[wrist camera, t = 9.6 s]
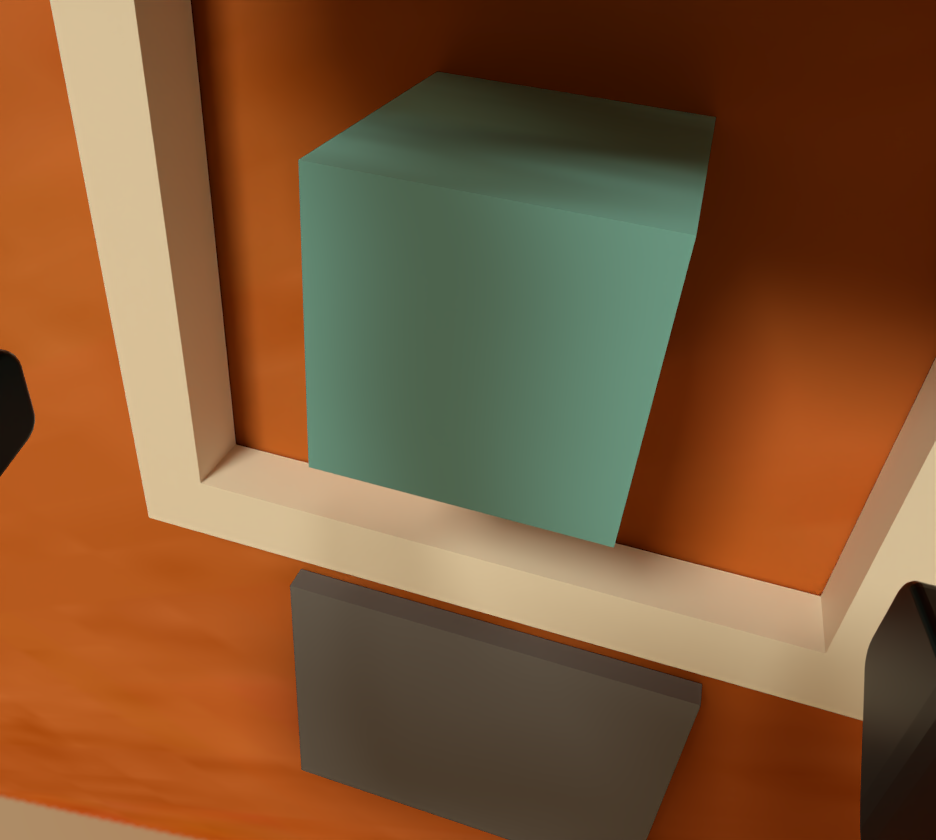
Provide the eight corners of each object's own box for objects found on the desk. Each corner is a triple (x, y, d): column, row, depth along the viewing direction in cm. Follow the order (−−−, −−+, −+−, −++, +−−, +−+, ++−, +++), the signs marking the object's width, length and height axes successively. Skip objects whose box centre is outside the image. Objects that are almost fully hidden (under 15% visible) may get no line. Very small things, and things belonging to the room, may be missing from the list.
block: (716, 116, 12) (696, 235, 8) (652, 365, 15) (613, 547, 11) (438, 71, 13) (298, 160, 9) (423, 314, 16) (308, 467, 12)
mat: (702, 684, 19) (700, 705, 18) (632, 859, 23) (630, 880, 23) (301, 569, 21) (290, 585, 20) (310, 752, 25) (301, 769, 25)
